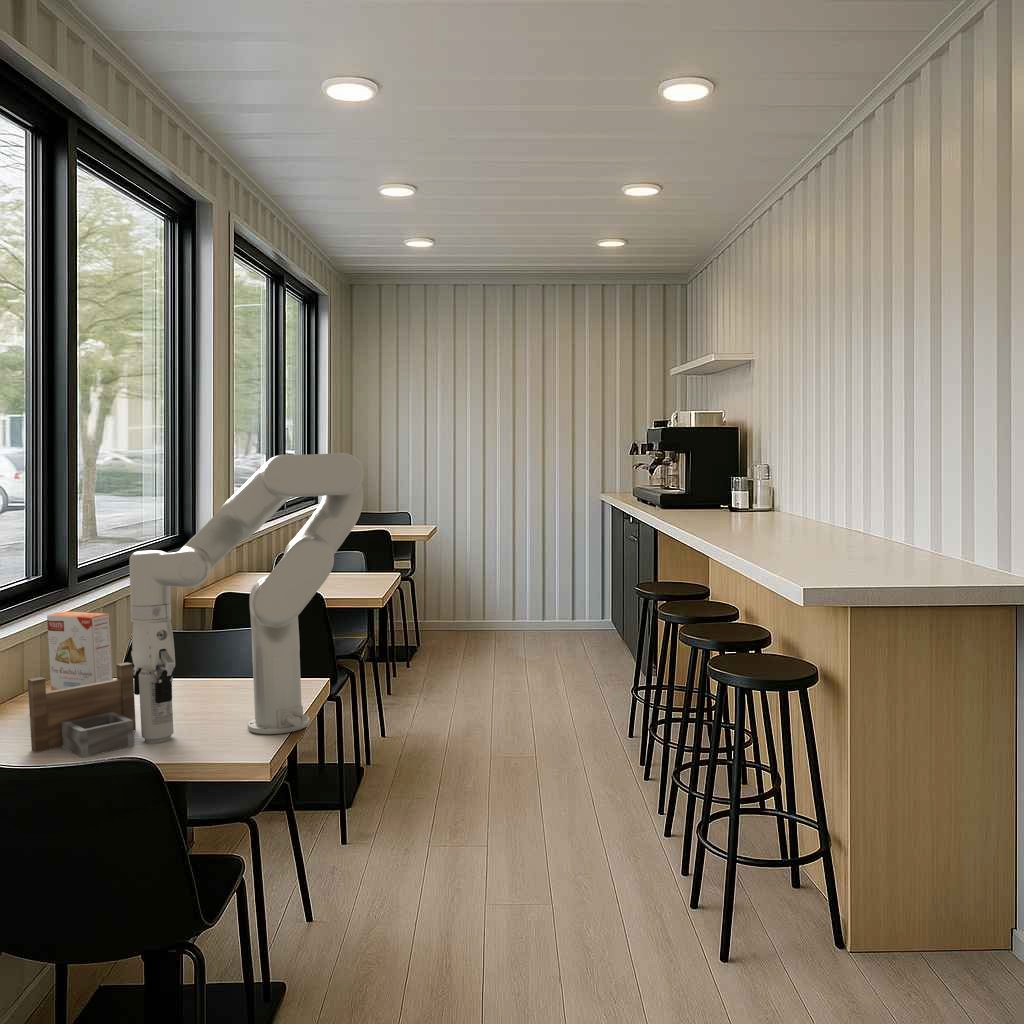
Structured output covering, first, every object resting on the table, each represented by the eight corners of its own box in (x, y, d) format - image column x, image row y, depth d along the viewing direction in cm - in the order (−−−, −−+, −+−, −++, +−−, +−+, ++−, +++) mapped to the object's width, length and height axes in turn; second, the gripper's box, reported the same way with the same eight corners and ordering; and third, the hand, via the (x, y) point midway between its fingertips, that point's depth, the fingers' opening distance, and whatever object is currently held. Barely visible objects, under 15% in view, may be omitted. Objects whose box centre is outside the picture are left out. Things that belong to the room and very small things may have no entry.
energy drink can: (163, 733, 195) (160, 661, 194) (179, 738, 191) (176, 664, 191) (135, 740, 191) (132, 666, 190) (152, 745, 187) (148, 670, 186)
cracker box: (50, 702, 224) (45, 614, 223) (70, 696, 230) (66, 610, 229) (95, 706, 219) (90, 616, 218) (115, 700, 225) (110, 612, 223)
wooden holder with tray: (158, 739, 191) (154, 670, 190) (55, 763, 177) (51, 689, 176) (131, 728, 200) (127, 662, 199) (31, 749, 186) (27, 679, 185)
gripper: (188, 615, 186) (190, 701, 187) (150, 606, 198) (152, 687, 199) (151, 619, 181) (153, 708, 182) (114, 610, 193) (116, 693, 194)
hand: (153, 697), depth 190 cm, fingers open, 9 cm apart
